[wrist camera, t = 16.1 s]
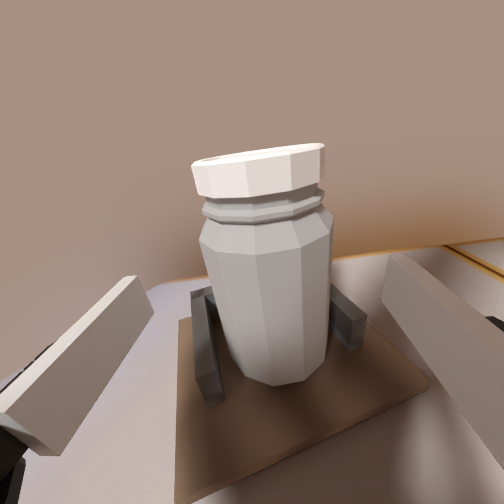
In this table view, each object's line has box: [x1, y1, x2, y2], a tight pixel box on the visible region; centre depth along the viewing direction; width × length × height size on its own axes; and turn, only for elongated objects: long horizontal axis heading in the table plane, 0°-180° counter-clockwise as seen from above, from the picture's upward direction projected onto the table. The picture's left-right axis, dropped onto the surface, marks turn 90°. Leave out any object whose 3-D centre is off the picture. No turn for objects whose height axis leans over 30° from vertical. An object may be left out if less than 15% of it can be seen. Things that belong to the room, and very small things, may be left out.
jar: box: [191, 143, 334, 386], centre depth 17 cm, size 10×10×18 cm
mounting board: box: [174, 283, 431, 504], centre depth 21 cm, size 20×16×5 cm
